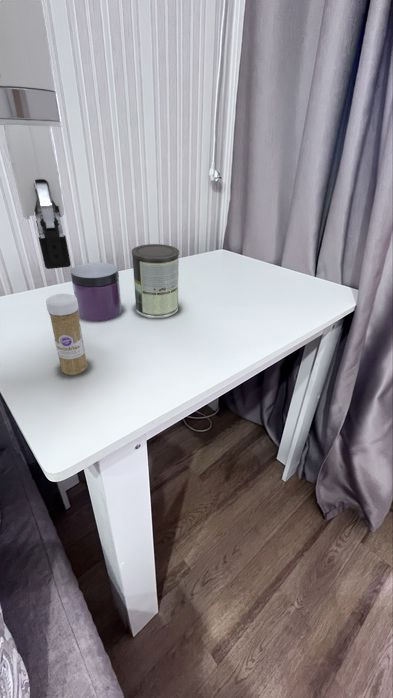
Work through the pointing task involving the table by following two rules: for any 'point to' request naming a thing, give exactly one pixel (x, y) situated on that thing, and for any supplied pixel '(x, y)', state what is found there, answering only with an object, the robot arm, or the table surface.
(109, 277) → the jar lid
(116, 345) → the table surface
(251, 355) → the table surface
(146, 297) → the coffee can
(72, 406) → the table surface
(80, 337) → the sprinkles bottle
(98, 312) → the jar
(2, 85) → the robot arm
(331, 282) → the table surface
